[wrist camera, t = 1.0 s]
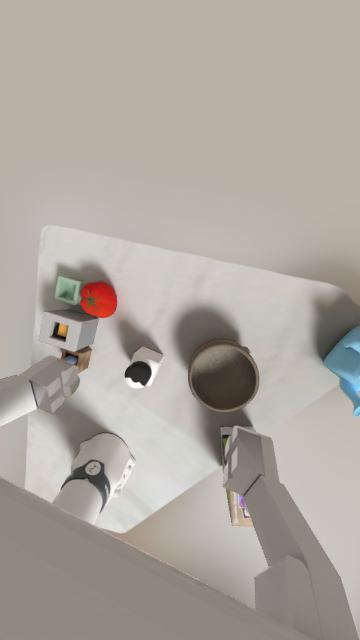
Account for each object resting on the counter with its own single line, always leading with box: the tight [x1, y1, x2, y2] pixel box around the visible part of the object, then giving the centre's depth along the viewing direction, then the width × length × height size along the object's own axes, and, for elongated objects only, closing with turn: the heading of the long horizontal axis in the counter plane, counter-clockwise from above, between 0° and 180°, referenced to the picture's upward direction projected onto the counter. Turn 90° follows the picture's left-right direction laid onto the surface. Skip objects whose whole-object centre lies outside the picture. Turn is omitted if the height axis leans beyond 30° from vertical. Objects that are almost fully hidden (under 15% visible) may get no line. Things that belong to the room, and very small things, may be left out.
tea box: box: [220, 427, 256, 526], centre depth 50 cm, size 15×10×15 cm
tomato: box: [80, 281, 117, 318], centre depth 52 cm, size 9×10×8 cm
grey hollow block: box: [39, 309, 98, 352], centre depth 53 cm, size 8×10×9 cm
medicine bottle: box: [125, 346, 164, 388], centre depth 51 cm, size 7×7×12 cm
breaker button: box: [58, 323, 69, 337], centre depth 52 cm, size 3×3×2 cm
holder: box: [61, 347, 92, 373], centre depth 56 cm, size 6×6×4 cm
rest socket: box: [54, 276, 89, 306], centre depth 54 cm, size 7×7×4 cm
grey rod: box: [62, 355, 79, 364], centre depth 53 cm, size 3×3×10 cm
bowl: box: [188, 339, 259, 412], centre depth 50 cm, size 17×18×10 cm
